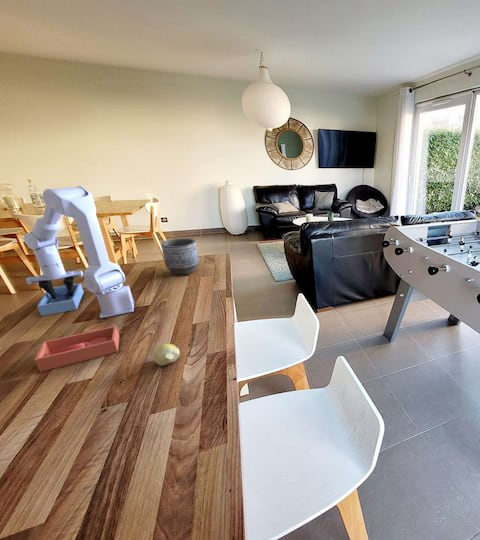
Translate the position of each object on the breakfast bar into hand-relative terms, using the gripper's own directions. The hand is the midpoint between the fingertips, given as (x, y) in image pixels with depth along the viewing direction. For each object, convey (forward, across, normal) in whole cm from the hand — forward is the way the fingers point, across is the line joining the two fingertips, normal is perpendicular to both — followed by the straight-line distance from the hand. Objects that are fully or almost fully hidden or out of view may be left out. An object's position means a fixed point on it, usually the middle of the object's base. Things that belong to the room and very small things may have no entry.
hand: (63, 296), depth 109 cm
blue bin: (+2, 0, +2) cm, 3 cm away
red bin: (+2, -10, +42) cm, 43 cm away
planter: (+2, -41, -12) cm, 43 cm away
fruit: (+2, -30, +58) cm, 65 cm away
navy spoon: (+1, 0, +2) cm, 2 cm away
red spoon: (+1, -10, +42) cm, 43 cm away
